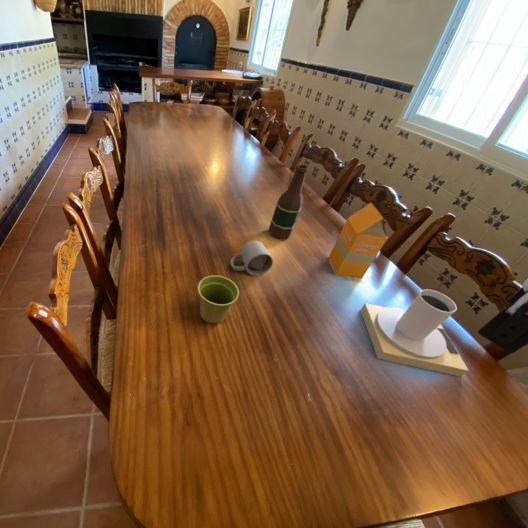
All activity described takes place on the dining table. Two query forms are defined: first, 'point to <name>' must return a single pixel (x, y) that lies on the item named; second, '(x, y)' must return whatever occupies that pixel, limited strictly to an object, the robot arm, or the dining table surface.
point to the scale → (410, 343)
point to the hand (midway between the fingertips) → (509, 324)
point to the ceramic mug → (253, 258)
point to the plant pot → (216, 297)
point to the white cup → (425, 314)
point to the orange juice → (358, 243)
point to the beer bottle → (288, 206)
